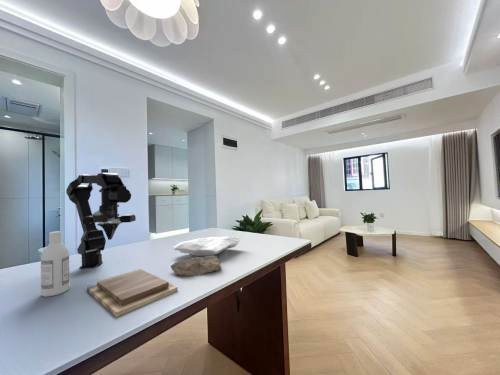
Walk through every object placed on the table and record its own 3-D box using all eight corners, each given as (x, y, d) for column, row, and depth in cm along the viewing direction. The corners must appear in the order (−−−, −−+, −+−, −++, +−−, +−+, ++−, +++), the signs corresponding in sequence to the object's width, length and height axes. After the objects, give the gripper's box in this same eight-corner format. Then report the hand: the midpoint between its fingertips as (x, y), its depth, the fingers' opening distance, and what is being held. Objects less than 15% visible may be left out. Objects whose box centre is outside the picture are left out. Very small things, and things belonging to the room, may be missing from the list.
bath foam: (67, 285, 75) (66, 229, 76) (71, 291, 71) (70, 231, 71) (39, 293, 70) (39, 232, 70) (42, 299, 66) (42, 234, 66)
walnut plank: (97, 281, 71) (121, 299, 58) (140, 268, 82) (168, 281, 69) (97, 286, 71) (121, 305, 58) (140, 273, 82) (168, 286, 69)
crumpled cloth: (249, 253, 104) (248, 235, 105) (173, 263, 91) (173, 241, 93) (235, 249, 125) (234, 233, 127) (172, 256, 113) (172, 239, 115)
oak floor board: (87, 290, 71) (87, 287, 71) (141, 273, 85) (141, 270, 85) (116, 317, 55) (116, 312, 55) (177, 290, 70) (177, 286, 70)
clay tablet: (170, 281, 78) (223, 271, 85) (170, 267, 78) (223, 259, 85) (171, 269, 91) (217, 261, 98) (170, 257, 92) (216, 251, 98)
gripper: (71, 204, 81) (72, 245, 80) (124, 203, 83) (124, 243, 83) (90, 202, 92) (90, 239, 91) (135, 201, 94) (136, 236, 94)
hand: (110, 239), depth 89 cm, fingers closed
